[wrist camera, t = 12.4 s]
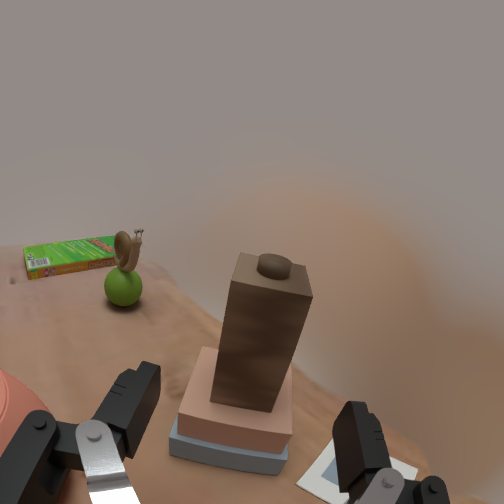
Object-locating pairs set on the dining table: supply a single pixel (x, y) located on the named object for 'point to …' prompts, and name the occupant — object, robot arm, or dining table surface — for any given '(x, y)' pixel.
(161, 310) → the dining table surface
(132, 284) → the snail figurine
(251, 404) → the walnut brick
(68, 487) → the dining table surface
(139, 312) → the dining table surface
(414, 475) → the page
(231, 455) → the tower base
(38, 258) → the game box
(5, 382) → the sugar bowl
